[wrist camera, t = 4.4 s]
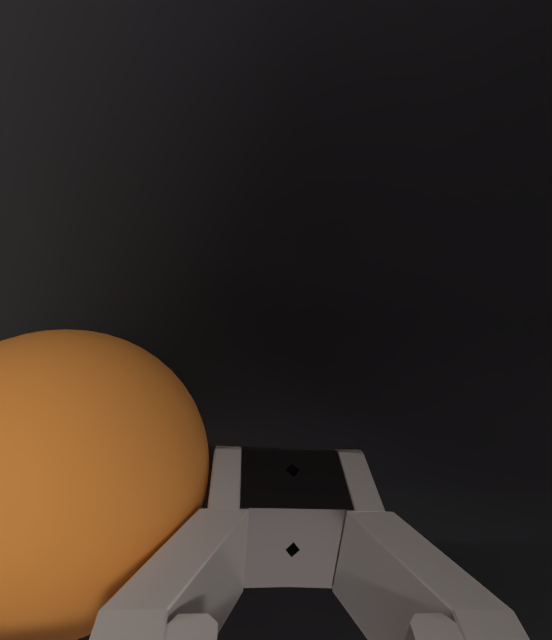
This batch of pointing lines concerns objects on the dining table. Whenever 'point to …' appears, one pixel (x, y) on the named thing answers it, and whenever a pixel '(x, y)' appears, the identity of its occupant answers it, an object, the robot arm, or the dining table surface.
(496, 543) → the dining table surface
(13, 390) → the ball
